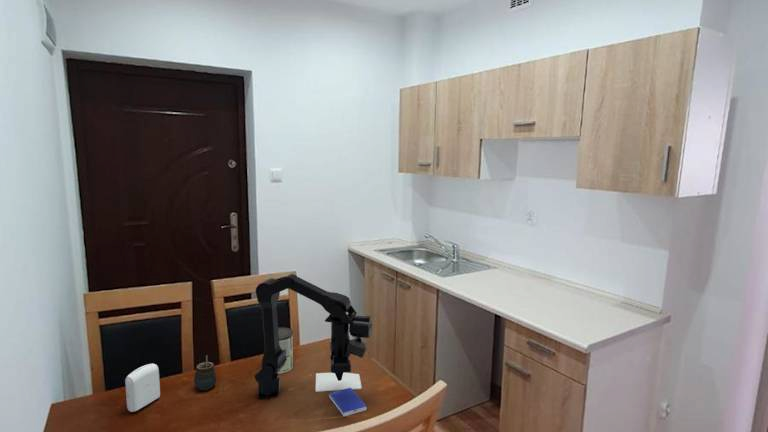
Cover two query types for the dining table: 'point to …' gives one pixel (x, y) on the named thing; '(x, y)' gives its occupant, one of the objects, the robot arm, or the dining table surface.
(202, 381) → the mate gourd
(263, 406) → the dining table surface
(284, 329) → the coffee can
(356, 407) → the hard drive
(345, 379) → the rubber mat
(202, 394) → the dining table surface
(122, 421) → the dining table surface
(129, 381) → the photo printer
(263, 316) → the robot arm
